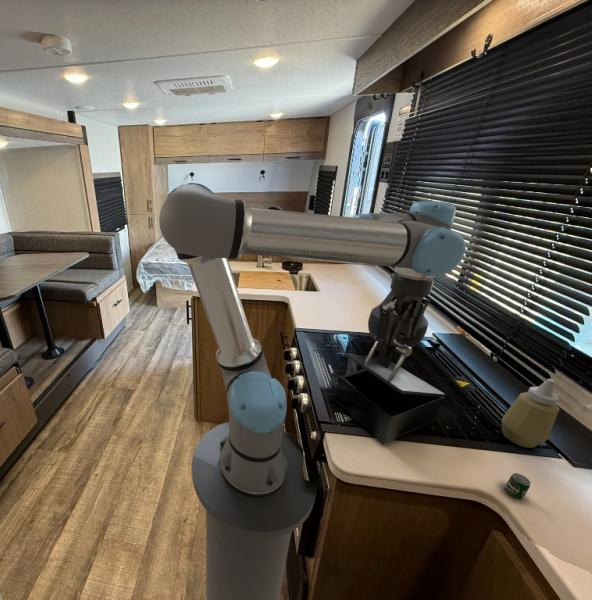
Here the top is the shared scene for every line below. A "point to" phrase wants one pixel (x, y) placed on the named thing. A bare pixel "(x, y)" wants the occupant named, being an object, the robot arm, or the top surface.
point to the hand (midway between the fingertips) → (388, 363)
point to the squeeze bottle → (531, 416)
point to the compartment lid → (395, 372)
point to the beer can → (517, 486)
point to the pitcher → (418, 337)
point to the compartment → (384, 406)
